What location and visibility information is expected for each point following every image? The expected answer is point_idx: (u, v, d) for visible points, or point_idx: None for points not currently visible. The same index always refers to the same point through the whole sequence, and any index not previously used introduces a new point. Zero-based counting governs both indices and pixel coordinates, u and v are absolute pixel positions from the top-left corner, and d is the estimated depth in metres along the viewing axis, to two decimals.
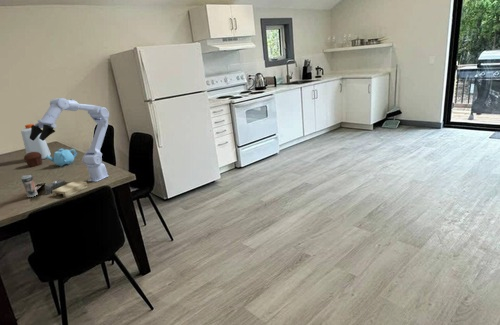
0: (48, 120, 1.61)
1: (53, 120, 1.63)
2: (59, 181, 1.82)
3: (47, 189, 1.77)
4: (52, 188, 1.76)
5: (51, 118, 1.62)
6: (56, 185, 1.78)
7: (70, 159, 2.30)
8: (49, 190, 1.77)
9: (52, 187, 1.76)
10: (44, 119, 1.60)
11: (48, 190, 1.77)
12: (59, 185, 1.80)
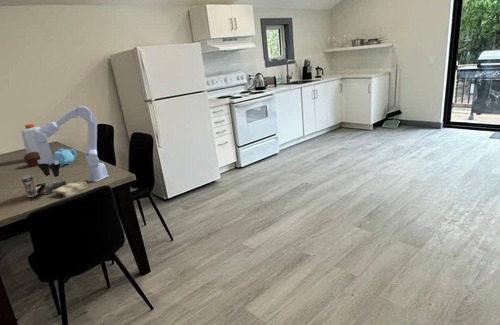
0: (47, 158, 1.73)
1: (50, 155, 1.74)
2: (59, 181, 1.82)
3: (47, 189, 1.77)
4: (52, 188, 1.76)
5: (47, 155, 1.73)
6: (56, 185, 1.78)
7: (70, 159, 2.30)
8: (49, 190, 1.77)
9: (52, 187, 1.76)
10: (43, 159, 1.73)
11: (48, 190, 1.77)
12: (59, 185, 1.80)
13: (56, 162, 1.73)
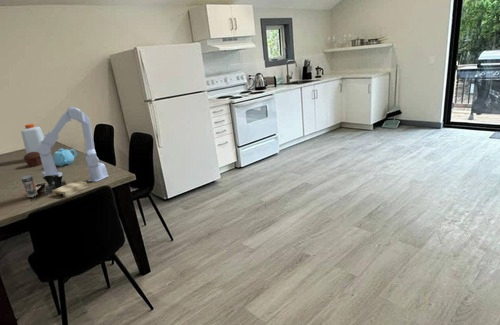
0: (51, 170, 1.75)
1: (54, 167, 1.77)
2: None
3: (47, 189, 1.77)
4: (52, 188, 1.76)
5: (51, 168, 1.75)
6: None
7: (70, 159, 2.30)
8: (49, 190, 1.77)
9: (52, 187, 1.76)
10: (47, 171, 1.75)
11: (48, 190, 1.77)
12: None
13: (60, 174, 1.75)
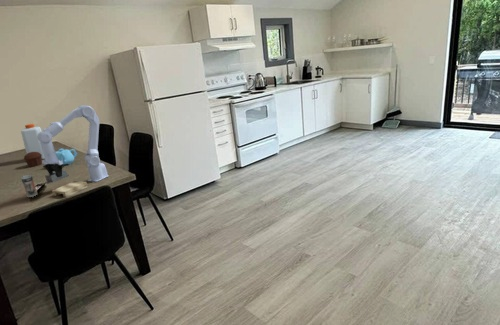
0: (51, 159, 1.72)
1: (54, 155, 1.73)
2: None
3: (47, 178, 1.74)
4: (52, 177, 1.73)
5: (52, 156, 1.72)
6: None
7: (70, 159, 2.30)
8: (49, 179, 1.73)
9: (52, 176, 1.73)
10: (48, 160, 1.72)
11: (48, 179, 1.74)
12: None
13: (60, 162, 1.72)
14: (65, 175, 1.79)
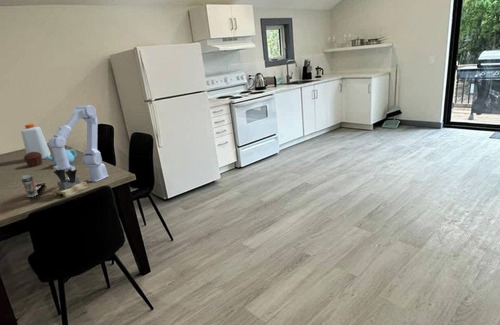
0: (64, 164, 1.69)
1: (66, 160, 1.70)
2: None
3: (60, 185, 1.71)
4: (65, 184, 1.71)
5: (64, 161, 1.69)
6: (69, 181, 1.73)
7: (70, 159, 2.30)
8: (62, 186, 1.71)
9: (65, 183, 1.71)
10: (60, 165, 1.69)
11: (61, 186, 1.71)
12: None
13: (73, 168, 1.69)
14: (77, 182, 1.77)
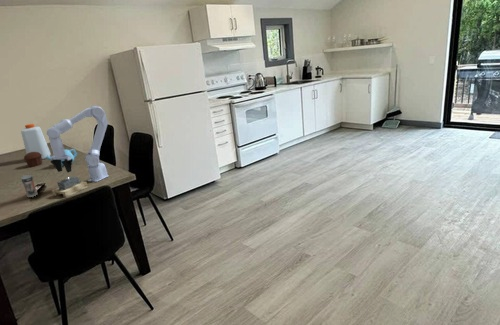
0: (60, 154, 1.76)
1: (63, 150, 1.77)
2: (72, 177, 1.77)
3: (60, 185, 1.71)
4: (65, 184, 1.71)
5: (60, 151, 1.76)
6: (69, 181, 1.73)
7: None
8: (62, 186, 1.71)
9: (65, 183, 1.71)
10: (56, 155, 1.75)
11: (61, 186, 1.71)
12: (72, 181, 1.74)
13: (69, 158, 1.75)
14: (77, 182, 1.77)
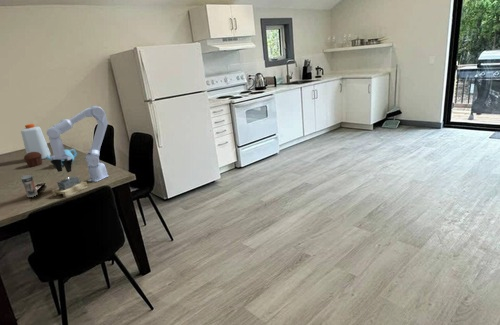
0: (60, 154, 1.76)
1: (62, 150, 1.77)
2: (72, 177, 1.77)
3: (60, 185, 1.71)
4: (65, 184, 1.71)
5: (60, 151, 1.76)
6: (69, 181, 1.73)
7: None
8: (62, 186, 1.71)
9: (65, 183, 1.71)
10: (56, 155, 1.75)
11: (61, 186, 1.71)
12: (72, 181, 1.74)
13: (69, 158, 1.75)
14: (77, 182, 1.77)
